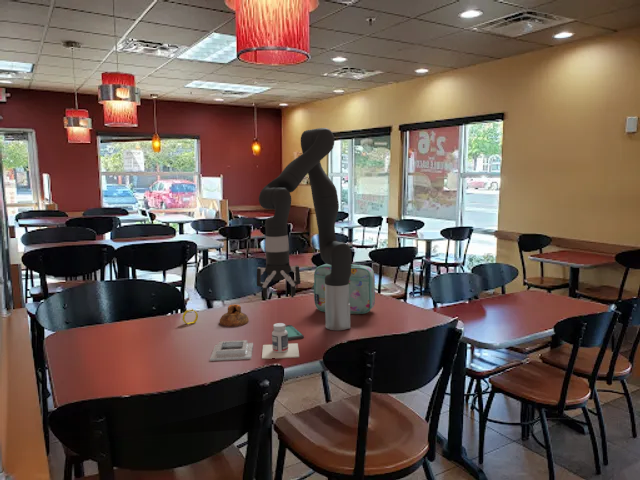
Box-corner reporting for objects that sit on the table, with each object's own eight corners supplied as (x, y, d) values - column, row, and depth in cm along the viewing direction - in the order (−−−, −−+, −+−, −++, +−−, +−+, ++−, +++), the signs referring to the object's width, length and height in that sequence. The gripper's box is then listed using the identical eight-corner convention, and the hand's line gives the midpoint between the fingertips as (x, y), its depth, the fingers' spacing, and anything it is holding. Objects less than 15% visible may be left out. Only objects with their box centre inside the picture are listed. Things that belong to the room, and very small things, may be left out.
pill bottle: (288, 347, 165) (287, 322, 163) (288, 352, 160) (287, 327, 158) (273, 347, 165) (272, 322, 163) (271, 353, 159) (271, 327, 158)
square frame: (253, 344, 169) (252, 338, 168) (251, 359, 156) (250, 351, 156) (215, 346, 168) (215, 339, 167) (210, 361, 155) (209, 353, 154)
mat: (297, 344, 168) (297, 343, 168) (299, 357, 157) (299, 356, 157) (263, 346, 167) (263, 344, 167) (261, 359, 156) (261, 357, 156)
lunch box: (309, 312, 207) (308, 263, 204) (317, 306, 216) (316, 259, 213) (371, 317, 199) (371, 265, 196) (376, 310, 209) (376, 261, 206)
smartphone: (291, 324, 189) (304, 335, 175) (291, 327, 189) (304, 338, 175) (272, 326, 186) (284, 338, 172) (272, 329, 186) (284, 341, 172)
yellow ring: (185, 326, 192) (183, 312, 191) (182, 324, 194) (180, 310, 193) (199, 322, 195) (197, 308, 194) (196, 320, 198) (194, 306, 197)
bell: (251, 318, 200) (251, 301, 199) (244, 327, 189) (243, 309, 188) (224, 318, 202) (223, 301, 201) (215, 327, 190) (214, 309, 189)
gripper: (298, 246, 161) (300, 293, 164) (255, 248, 160) (258, 295, 163) (299, 250, 154) (301, 299, 156) (254, 252, 153) (257, 301, 155)
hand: (279, 297), depth 159 cm, fingers open, 8 cm apart
